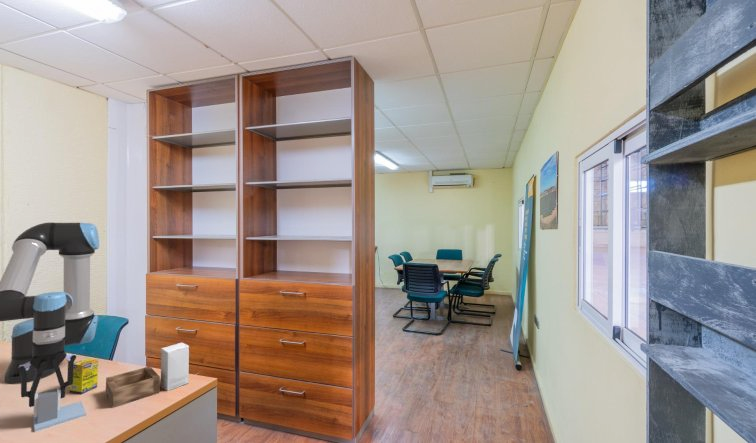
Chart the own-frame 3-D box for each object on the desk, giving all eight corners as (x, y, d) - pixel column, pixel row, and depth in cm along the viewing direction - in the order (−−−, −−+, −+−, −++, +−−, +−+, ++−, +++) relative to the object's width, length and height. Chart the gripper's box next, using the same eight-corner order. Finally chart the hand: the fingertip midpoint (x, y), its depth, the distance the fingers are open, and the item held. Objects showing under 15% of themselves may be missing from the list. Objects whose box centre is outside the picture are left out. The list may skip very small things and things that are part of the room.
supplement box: (81, 394, 123) (82, 365, 124) (69, 392, 125) (69, 363, 125) (98, 386, 129) (98, 359, 129) (85, 385, 130) (86, 357, 131)
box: (149, 381, 134) (150, 366, 134) (159, 392, 126) (159, 376, 126) (105, 394, 124) (106, 377, 124) (112, 407, 115) (113, 389, 115)
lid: (81, 403, 118) (82, 378, 118) (86, 416, 110) (86, 389, 110) (32, 418, 109) (33, 390, 109) (34, 432, 101) (35, 403, 101)
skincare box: (181, 379, 137) (182, 341, 137) (189, 383, 133) (190, 345, 133) (159, 386, 130) (160, 347, 130) (166, 392, 126) (167, 351, 127)
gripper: (8, 351, 99) (6, 428, 98) (86, 336, 112) (84, 405, 112) (8, 344, 104) (6, 418, 103) (83, 331, 117) (81, 397, 116)
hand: (47, 411), depth 107 cm, fingers open, 5 cm apart
